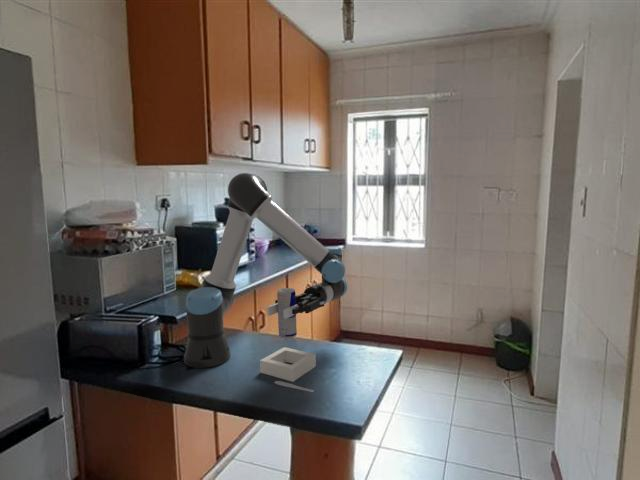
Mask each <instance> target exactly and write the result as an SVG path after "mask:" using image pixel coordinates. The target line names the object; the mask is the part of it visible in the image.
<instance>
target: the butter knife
mask: <svg viewBox="0 0 640 480" xmlns="http://www.w3.org/2000/svg"><path fill="white" fill-rule="evenodd" d="M274 384H276V385H278V386H282V387H287V388H291V389H297V390H301V391H304V392H305V391H306V392H310V393H312V392H313V393H314V392H315V390H313V389H312V388H311V389H310V388H306V387H302V386H298V385H295V384H292V383H289V382H285V381H281V380H275V381H274Z"/></svg>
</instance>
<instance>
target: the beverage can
mask: <svg viewBox="0 0 640 480" xmlns="http://www.w3.org/2000/svg"><path fill="white" fill-rule="evenodd" d="M295 290H296V289H295V288H291V287H282V288H279V289H277V292H276V293H277V294H276V295H277V299H276V300H278V313H277V323H278V327H277V328H278V337H280V338H281V339H286V340H289V339H293V338H295V337H296V336H297V334H298V331H297V314H295V315H293V316H291V317H289V318H287V319H284V314H283V310H284V309H286V308H289V307H291V306H294V305H296V296H297V295H296V291H295Z"/></svg>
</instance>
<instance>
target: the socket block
mask: <svg viewBox="0 0 640 480" xmlns="http://www.w3.org/2000/svg"><path fill="white" fill-rule="evenodd" d="M316 356H317V355H316V353H311V352H308V351H303V350H298V349H294V348H289V347H285V346H284V347H282V348H280V349H278V350H276V351H275V352H273V353H271V354H269V355H267V356H265V357H264V358H262V359H260V360H259V365H260V366H259V369H260V371H259V372H260V373H261V374H264V375H268V376H271V377H275V378H278V379H283V380H285V381H288V382H295V381H296V380H298V379H299V378H300V377H302V376H304V375H305V374H306V373H307V374H308V372H309V371H311V370H312V369H314V368H315V367H317V362H316V359H317V357H316Z"/></svg>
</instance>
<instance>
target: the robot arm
mask: <svg viewBox="0 0 640 480" xmlns="http://www.w3.org/2000/svg"><path fill="white" fill-rule="evenodd" d="M267 187H268V186H267V184H266V182H265V181H264V179H263V178H261V177H260V176H258V175H256V174H253V173H248V172H246V173H245V172H242V173H239V174H236V175H235V176H234V177H232V178H231V180H230V181H229V183H228V186H227V194H228V197H229V198H228V199H229V200H228V201H227V202H228V203H227V205H226V206H227V208H228V210H229V214H228V217H227V220H226V224H225V228H224V231H223V233H222V237H221V240H220V244H219V247H218V249H217V253H216V256H215V258H214V261H213V262H214V263H213V265H212V268H211V272H210V274H208V275H206V276H205V277H204V280H203V284H202V286H201V287H198V288H196V289H193V290H191V291H190V292H188V293H187V295H186V298H185V310H186V323H187V327H186V328H187V343H186V347H185V352H184V354H183V363H184V364H185V365H186V366H187V367H190V368H195V369H197V368H198V369H203V368H206V369H207V368H211V367H215V366H219V365H222V364H223V363H226V362H228V361H229V359H231V349H230V347H229V345H228V342H227V339H226V337H225V332H224V331H225V330H224V328H225V327H224V316H225V315H226V313H227V312H228V311H229V310H230V309H231V307H232V305H233V303H234V294H235V291H236V288H237V284H236V283H235V277H236V275H237V270H238V268H239V265H240V262H241V258H242V256H243V252H244V249H245V247H246V243H247V240H248V237H249V234H250V230H251V227H252V225H253V222H254V219H257V220H259V221H260V222H261V223H262V225H265V227H267V228H268V229H269V230H270V231H272V233H274V234H275V235H276V236H277V237H278V238H279V239H281V240H282V241H283V242H284V244H286V245H288V247H290V248H291V249H292V250H293V251H295V252H296V254H298V255H299V256H300V257H302V259H304V260H305V261H306V262H307V263H308V264H309V265H311V266H312V267H313V268H314V269H315V270H316V271H317V272H318V273H319V274H320V275H321V282H319V283H316V284H313V285H311V286H308V287H306V288H305V290H304V291H303V292H302V293H300V294H298V295H295V296H296V305H294V306H291V307H289V308H286V309H284V310H283V314H284V319H287V318H289V317H291V316H293V315H295V314H296V315H297V314H303V313H304V314H309V313H311V312H313V311H316V310H318V309H319V308H323V307H325V305H326V304H328V303H330V302H332V301H333V302H334V301H335V300H337V299H339V298H341V297H343V296H344V295H345V294H346V293H347V291H348V284H347V282H346V280H345V279H344V277H345V273H346V267H345V264H344V263H343V253H342V252H343V251H342V247H340V246H324V245H323V244H322V243H321V242H320V241H319V240H317V239H316V237H314V235H312V234H311V233H309V232H308V231H307V230H306V229H305V228H304V227H302V226H301V225H300V224H299V222H297V221H296V220H295V219H294V218H292V217H291V216H290V215H289V214H288V213H286V211H285V210H283V209H282V208H281V207H280V206H279V205H277V203H276V202H274V201H273V200H272V195H271V194H270V193H269V192H268V188H267ZM266 307H267V308H266V309H267V310H266V311H267V316H268V317H270V316H273V315H275V314H278V300H277V299H275V300H274V304H271V305H268V306H266Z"/></svg>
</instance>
